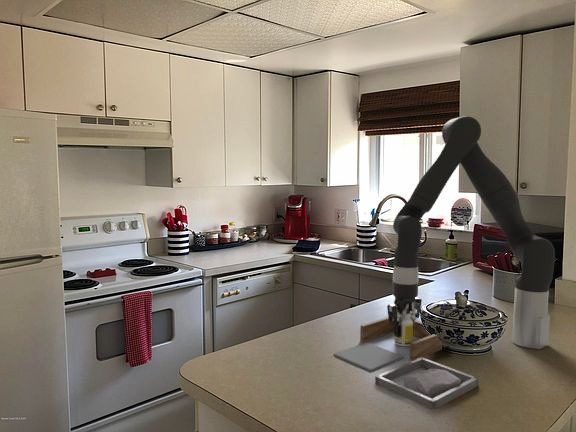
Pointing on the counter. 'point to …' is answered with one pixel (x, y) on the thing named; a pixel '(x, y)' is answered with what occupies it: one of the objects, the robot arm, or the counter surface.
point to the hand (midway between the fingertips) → (404, 334)
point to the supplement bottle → (405, 331)
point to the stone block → (431, 382)
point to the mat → (368, 356)
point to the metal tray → (421, 399)
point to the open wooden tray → (417, 348)
